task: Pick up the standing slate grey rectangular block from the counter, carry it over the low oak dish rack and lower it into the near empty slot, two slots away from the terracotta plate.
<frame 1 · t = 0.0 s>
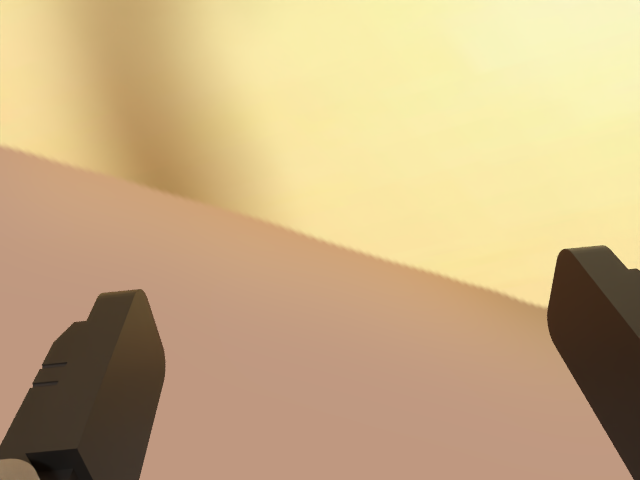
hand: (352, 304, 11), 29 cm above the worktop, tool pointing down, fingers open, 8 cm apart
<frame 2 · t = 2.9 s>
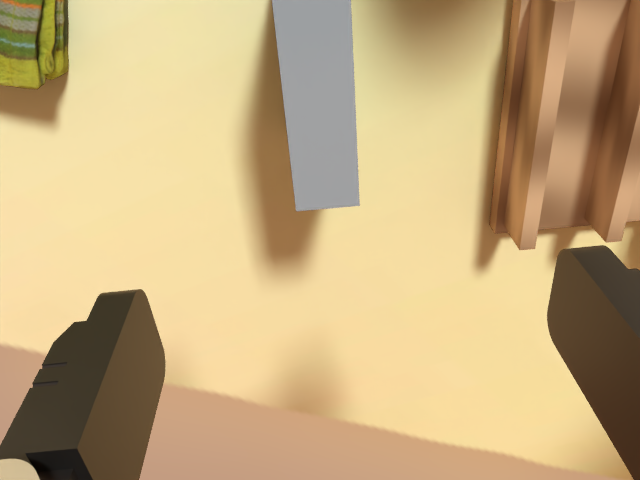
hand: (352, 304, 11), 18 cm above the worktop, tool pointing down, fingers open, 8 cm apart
slate grey rectangular block: (315, 77, 23), point 4 cm above the worktop
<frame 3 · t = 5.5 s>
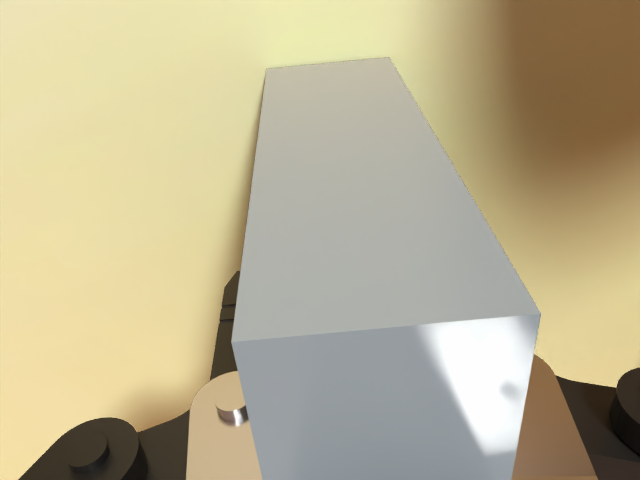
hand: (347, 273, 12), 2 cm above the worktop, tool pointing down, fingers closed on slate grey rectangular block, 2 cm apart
slate grey rectangular block: (356, 345, 10), point 4 cm above the worktop, touching gripper
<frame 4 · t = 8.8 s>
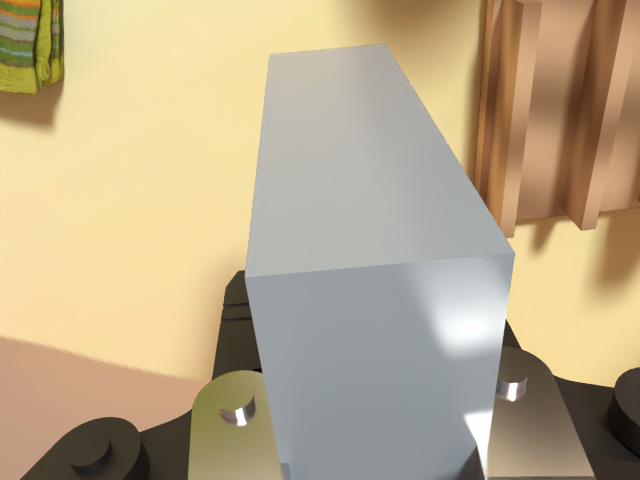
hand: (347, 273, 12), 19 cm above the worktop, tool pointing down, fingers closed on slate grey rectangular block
dish rack: (618, 98, 30), on the worktop
slate grey rectangular block: (354, 313, 11), point 20 cm above the worktop, touching gripper
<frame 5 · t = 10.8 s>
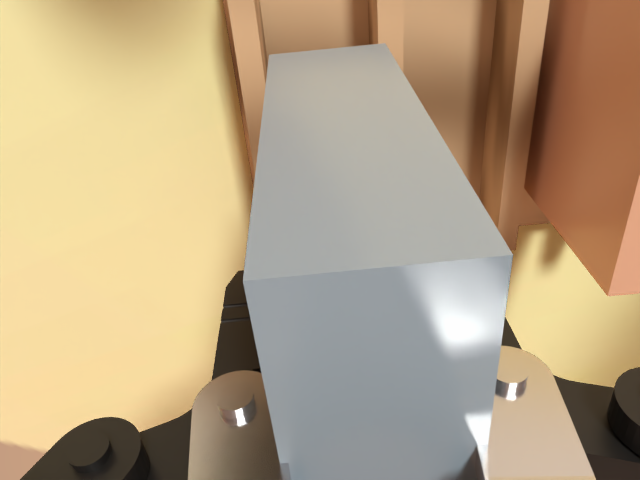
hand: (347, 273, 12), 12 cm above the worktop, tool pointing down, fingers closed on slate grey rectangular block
dish rack: (434, 80, 22), on the worktop
terracotta plate: (611, 114, 17), point 5 cm above the worktop, touching dish rack
slate grey rectangular block: (355, 313, 11), point 13 cm above the worktop, touching gripper
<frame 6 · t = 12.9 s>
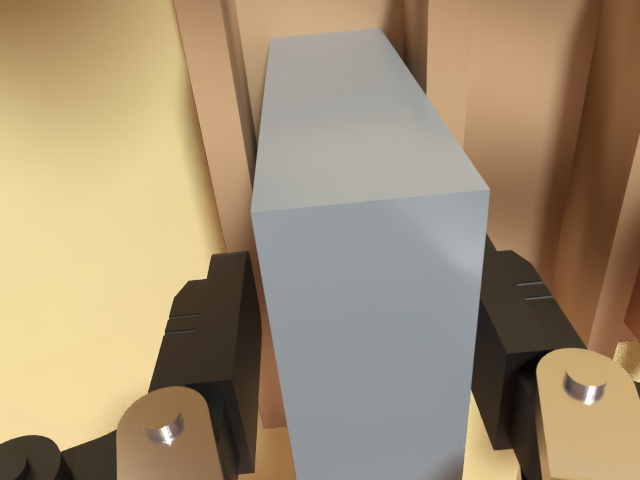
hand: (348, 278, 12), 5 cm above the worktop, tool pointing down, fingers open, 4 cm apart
dish rack: (490, 163, 16), on the worktop
slate grey rectangular block: (351, 279, 11), point 5 cm above the worktop, touching dish rack
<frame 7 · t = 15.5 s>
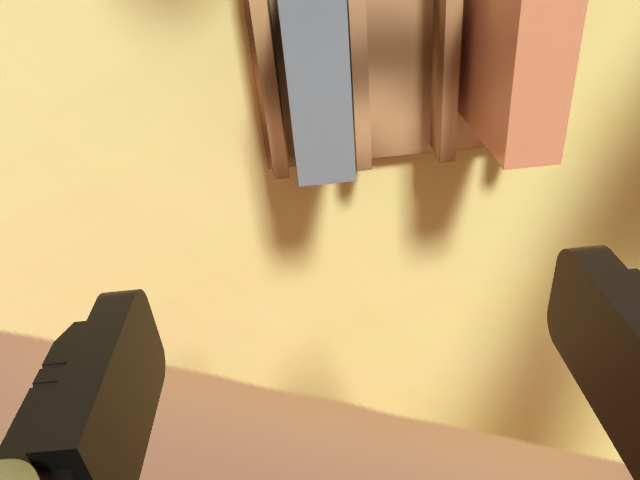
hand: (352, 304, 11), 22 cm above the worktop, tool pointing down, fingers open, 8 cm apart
dish rack: (394, 36, 29), on the worktop
terracotta plate: (510, 50, 25), point 5 cm above the worktop, touching dish rack
slate grey rectangular block: (315, 66, 25), point 5 cm above the worktop, touching dish rack
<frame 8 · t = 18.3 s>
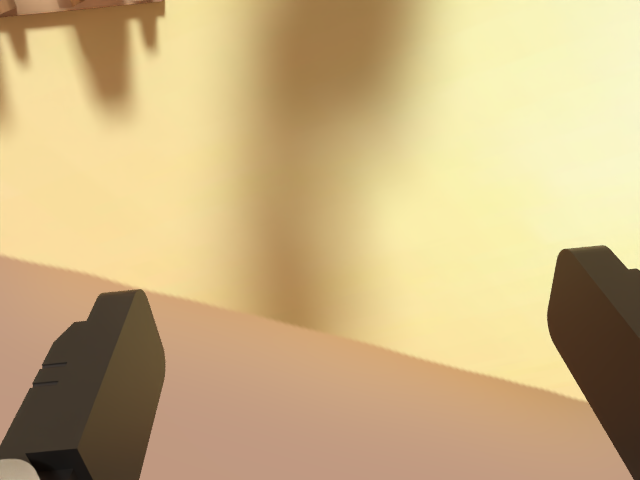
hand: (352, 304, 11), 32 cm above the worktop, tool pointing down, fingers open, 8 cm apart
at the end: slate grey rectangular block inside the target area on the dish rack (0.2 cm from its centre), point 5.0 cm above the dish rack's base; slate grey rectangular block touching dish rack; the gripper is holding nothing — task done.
